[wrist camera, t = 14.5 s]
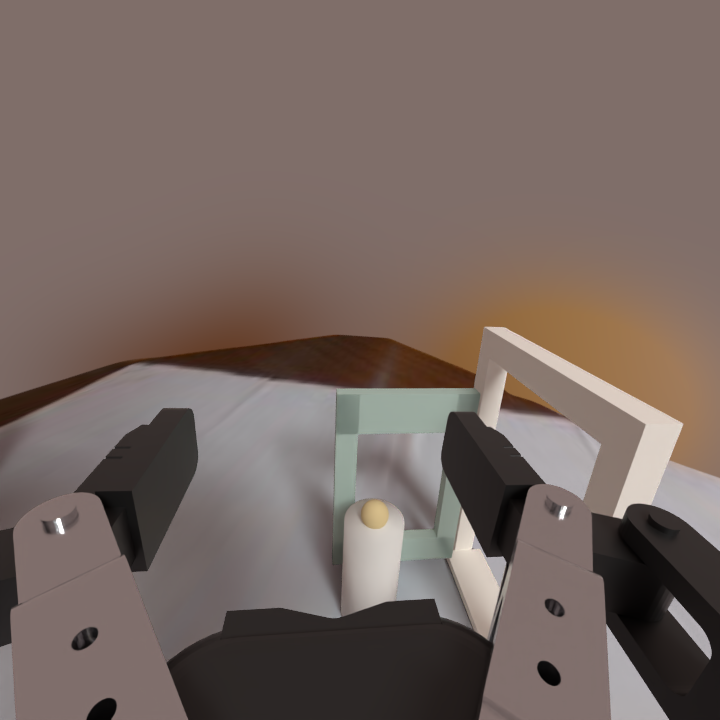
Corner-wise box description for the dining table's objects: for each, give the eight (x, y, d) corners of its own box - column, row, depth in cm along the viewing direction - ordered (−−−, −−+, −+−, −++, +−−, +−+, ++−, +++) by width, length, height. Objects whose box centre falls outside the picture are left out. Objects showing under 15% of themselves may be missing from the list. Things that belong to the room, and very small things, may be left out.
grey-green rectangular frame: (443, 537, 42) (468, 382, 35) (451, 557, 39) (480, 393, 33) (331, 543, 40) (335, 382, 34) (332, 564, 38) (337, 394, 31)
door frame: (517, 744, 26) (627, 424, 17) (439, 541, 43) (474, 326, 34) (569, 738, 26) (701, 423, 17) (471, 540, 43) (514, 327, 34)
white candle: (342, 639, 32) (347, 528, 28) (339, 585, 37) (343, 483, 33) (399, 635, 33) (413, 525, 28) (389, 582, 38) (399, 481, 33)
